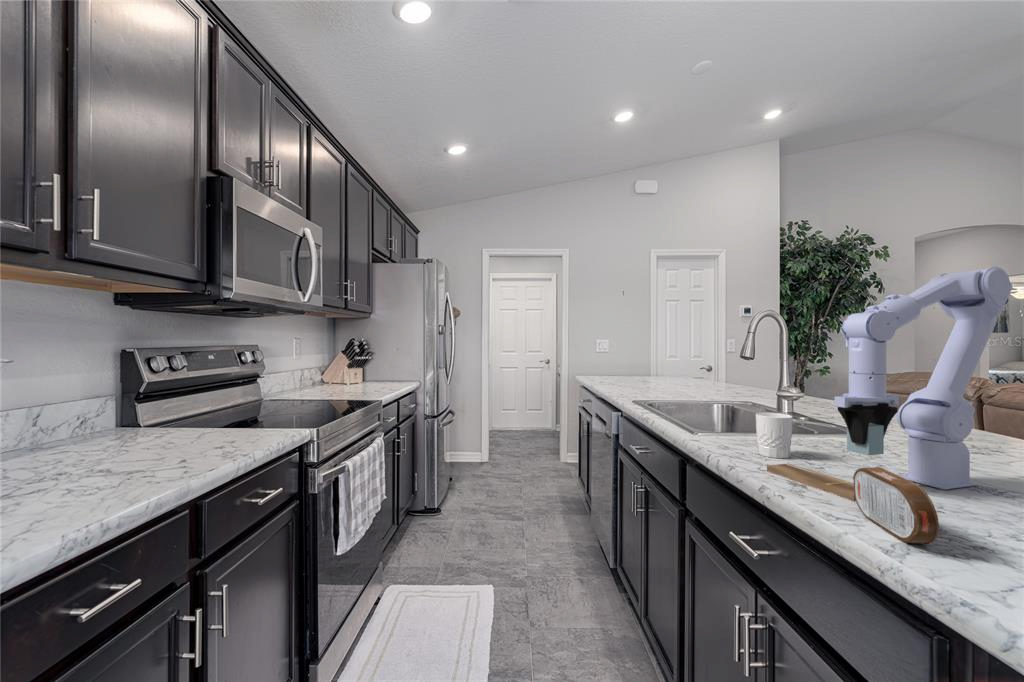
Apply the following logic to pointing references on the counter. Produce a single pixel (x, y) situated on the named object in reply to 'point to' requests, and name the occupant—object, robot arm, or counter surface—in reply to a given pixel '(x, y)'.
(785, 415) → the white cup
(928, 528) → the tin
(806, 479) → the walnut board
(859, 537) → the counter surface
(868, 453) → the block
